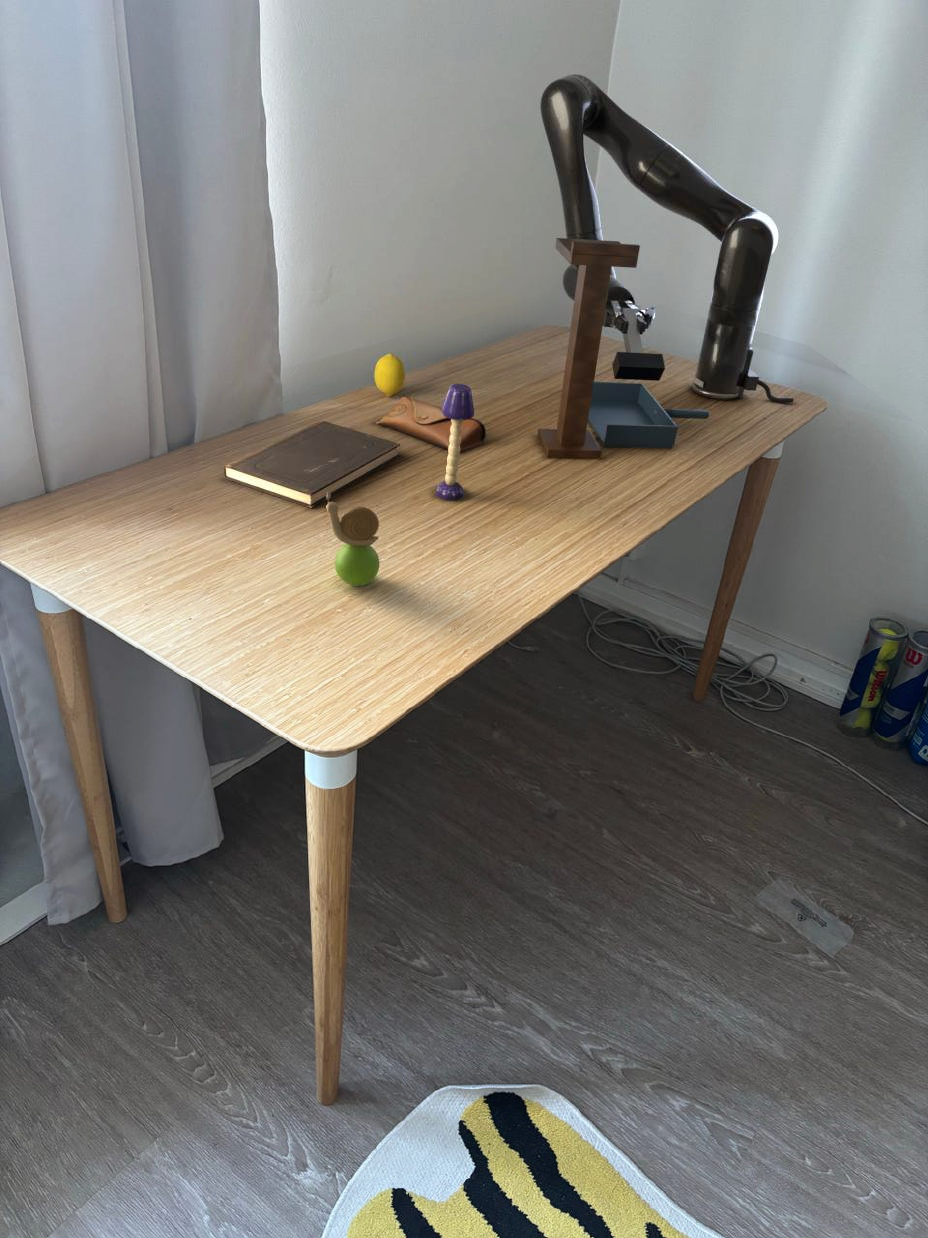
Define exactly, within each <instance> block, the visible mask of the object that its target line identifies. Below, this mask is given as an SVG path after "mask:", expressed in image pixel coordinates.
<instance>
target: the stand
mask: <svg viewBox="0 0 928 1238" xmlns="http://www.w3.org/2000/svg"><path fill="white" fill-rule="evenodd" d="M603 240H604V239H603ZM603 240H585V239H567V238H566V237H565V238H564V237H556V238H555V246H554V247H555V250H556V251H558V253H559V254H560V255H561V256H562V257H563V258H564V259H565V261H567V262H568V263H569V265H579V270H578V278H577V285H576V292H575V300H574V301H573V307H572V315H571V322H570V328H569V329H570V330H569V337H568V343H567V351H566V359H565V367H564V374H563V381H562V388H561V395H560V404H559V410H558V417H557V424H556V428H537V434H536V437H537V439H538V442H539V443H540V445H541V447H542V450H543V452H544V454H545V457H546V458H547V459H580V460H581V459H583V460H585V459H587V460H588V459H589V460H591V459H592V460H594V459H595V460H600V459H601V457H602V449H601V447H600V445H599V444H598V442H597V441H596V439H595V437H594V435H593V434H592V432H591V431H590V429H588V423H589V421H588V417H589V410H590V404H591V398H592V391H593V385H594V382H595V378H596V370H597V364H598V358H599V352H600V346H601V340H602V339H601V338H602V334H603V333H602V331H603V328H604V326H603V320H604V314H605V307H606V301H607V294H608V288H609V281H610V275H611V269H612V267H614V268H630V269H631V268H633V269H636V268H637V267H638V260H639V254H640V248H641V245H640V244H633V243H621V241H618V240H604V241H603Z"/></svg>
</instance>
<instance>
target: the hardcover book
mask: <svg viewBox="0 0 928 1238" xmlns="http://www.w3.org/2000/svg"><path fill="white" fill-rule="evenodd" d="M400 447H401V443H398V442H395V441H392V440H389V439H387V438H386V439H385V438H382V437H379V436H376V435H372V434H369V433H365V432H362V431H359V430H355V429H353V428H348V427H345V426H342V425H339V424H335V423H332V422H328V421H325V420H322V419H321V420H318V421H316V422H315V423H313V424H310V425H308V426H306V427H304V428H302V429H300V430H297V431H295V432H293V433H291V434H289V435H287V436H285V437H283V438H280V439H277V440H276V441H274V442H273V443H270V444H268V445H266V446H264V447H261V448H260V449H257V450H256V451H253V452H251V453H249V454H247V455H244V456H243V457H240V458H238V459H236V460H234V461H232V462H229V463H227V464H225V465H224V466H223V475H224V477H225V478H226V480H228V481H231V482H234V483H237V484H239V485H242V486H245V487H247V488H251V489H253V490H256V491H260V492H262V493H266V494H268V495H272V496H274V497H277V498H280V499H282V500H286V501H289V502H292V503H295V504H298V505H300V506H303V507H307V508H310V509H313V508H315V507H316V506H318V505H320V504H321V503H323V502H325V501H326V500H327V501H328V499H327V498H326V496H327V493H328V492H329V493H331V498H332V497H333V496H335V495H337V494H338V493H341V492H342V491H344V490H346V489H347V488H349V487H351V486H353V485H354V484H356V483H358V482H360V481H361V480H362V479H364V478H366V477H368V476H370V475H372V474H373V473H375V472H376V471H378V470H380V469H382V468H384V467H385V466H387V465H388V464H390V463H392V462H393V461H395V460H397V459H399V458H400V457H401V455H400V454H398V451H399V450H398V448H400Z"/></svg>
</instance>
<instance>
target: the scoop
mask: <svg viewBox="0 0 928 1238" xmlns="http://www.w3.org/2000/svg"><path fill="white" fill-rule="evenodd" d="M710 414H711V413H710V411H709V410H707V409H691V408H690V409H689V408H688V409H685V408H684V409H683V408H664V407H663V406H662V405H661V404H660V403H659V401H658V400H657V399H656V398H655V396H654V395H653V394H652V393H651V392H650V391H649V389H648V388H647V387H646V386H645V384H643V382H617V381H594V385H593V391H592V398H591V404H590V410H589V417H588V423H589V425H590V426H591V428H592V430H593V431H594V433H595V434H596V436H597V437H598V439H599V441H600V443H601V444H602V446H603V447H604V448H605V447H607V448H608V447H609V448H650V449H653V448H654V449H672V447H675V444H676V440H677V435H678V430H679V426H678V425H677V423H676V422H675V421H674V420H673V419H690V420H691V419H693V420H694V419H695V420H696V419H697V420H698V419H699V420H706V419H709V417H710Z"/></svg>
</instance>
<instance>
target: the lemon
mask: <svg viewBox="0 0 928 1238" xmlns="http://www.w3.org/2000/svg"><path fill="white" fill-rule="evenodd" d="M405 381H406V371H405V365H404V363H403V361H402V360H401V359H400V358H399V357H398V356H396V355H394V354H393V353H390V352H389V353H388V354H386V355H384V356H382V357H381V358H379V359H378V361H377V363H376V365H375V369H374V382H375V385H376V387H377V389H378V390H379V391H380V392H382V393H383V394H385V395H386V397H390V398H391V397H392V396H393V395H394V394H397V393H399V392H400V391H401V390H402V389H403V387H404V384H405Z"/></svg>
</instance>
